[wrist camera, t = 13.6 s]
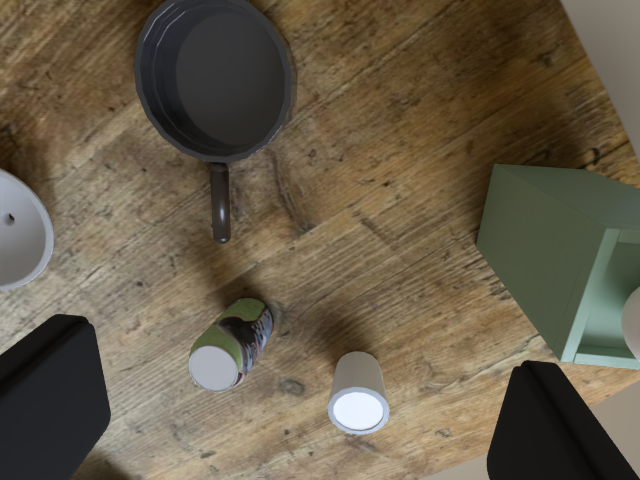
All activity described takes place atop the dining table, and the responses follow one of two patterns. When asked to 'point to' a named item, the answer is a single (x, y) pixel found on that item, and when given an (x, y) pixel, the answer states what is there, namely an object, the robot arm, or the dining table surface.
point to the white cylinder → (358, 394)
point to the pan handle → (220, 202)
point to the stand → (566, 256)
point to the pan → (215, 77)
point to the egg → (632, 323)
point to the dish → (22, 233)
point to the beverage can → (230, 345)
